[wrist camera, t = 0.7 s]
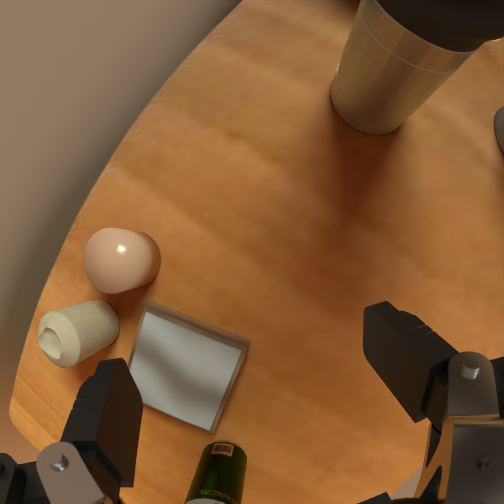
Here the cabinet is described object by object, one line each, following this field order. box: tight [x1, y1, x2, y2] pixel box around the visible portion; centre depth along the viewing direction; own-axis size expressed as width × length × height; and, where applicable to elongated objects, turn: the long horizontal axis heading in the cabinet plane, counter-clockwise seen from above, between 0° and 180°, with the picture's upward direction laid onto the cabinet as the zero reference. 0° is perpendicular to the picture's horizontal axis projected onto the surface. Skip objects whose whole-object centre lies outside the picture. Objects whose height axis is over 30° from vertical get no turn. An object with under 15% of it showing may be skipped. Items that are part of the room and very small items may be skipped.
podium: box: [128, 301, 250, 433], centre depth 30 cm, size 11×11×3 cm
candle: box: [37, 300, 120, 368], centre depth 27 cm, size 6×6×10 cm
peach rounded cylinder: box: [83, 228, 161, 294], centre depth 29 cm, size 6×6×6 cm
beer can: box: [184, 440, 247, 504], centre depth 26 cm, size 5×5×12 cm
